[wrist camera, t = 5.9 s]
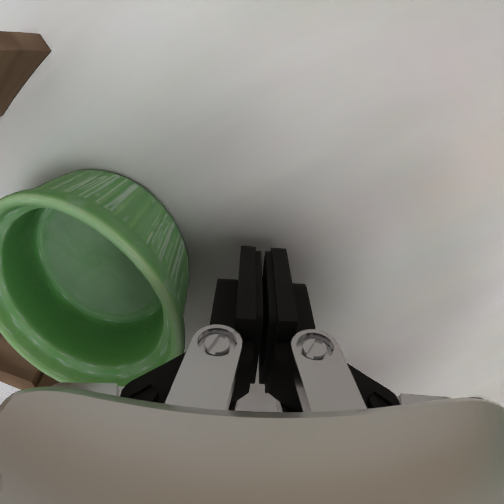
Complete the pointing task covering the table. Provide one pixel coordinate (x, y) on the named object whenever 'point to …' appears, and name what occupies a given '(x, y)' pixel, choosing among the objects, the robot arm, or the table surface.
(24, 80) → the walnut holder
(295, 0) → the table surface
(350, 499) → the robot arm
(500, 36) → the table surface
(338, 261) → the table surface
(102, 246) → the ramekin
